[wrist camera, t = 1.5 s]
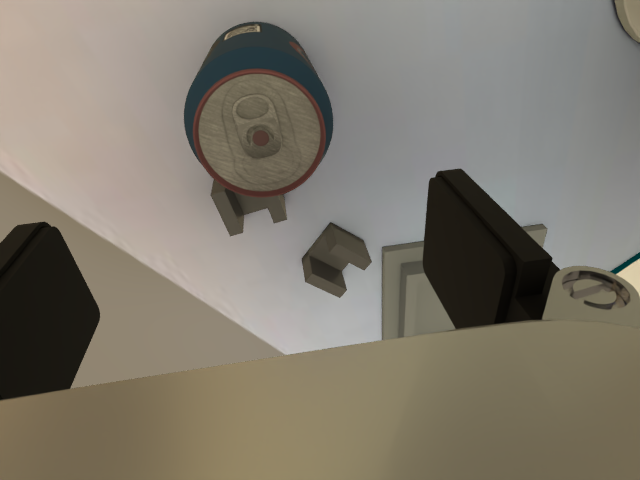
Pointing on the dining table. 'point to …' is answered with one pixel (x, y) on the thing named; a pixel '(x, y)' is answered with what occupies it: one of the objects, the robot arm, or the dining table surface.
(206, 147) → the soda can
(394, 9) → the dining table surface
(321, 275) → the clip
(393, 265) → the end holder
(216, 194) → the clip
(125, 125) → the dining table surface
